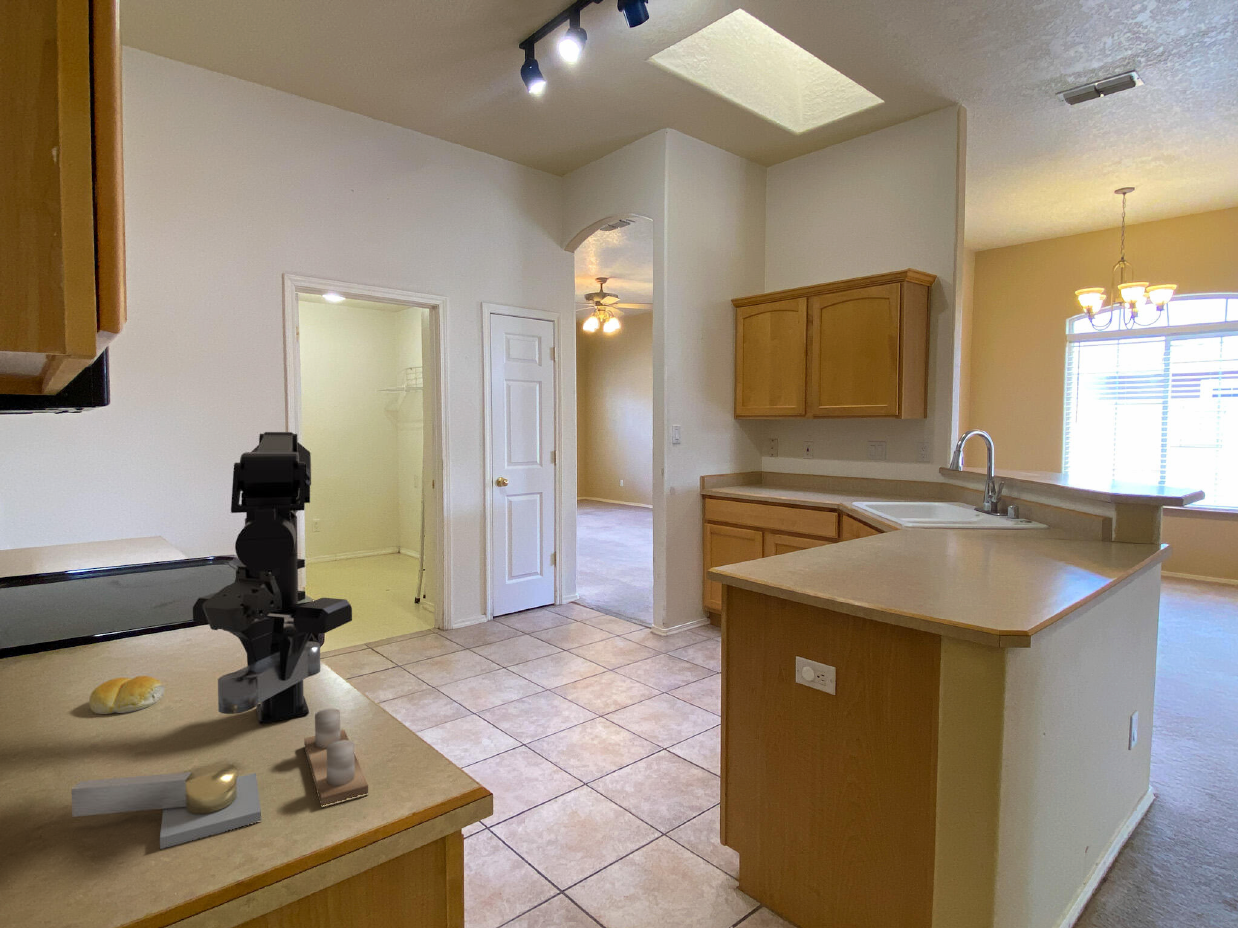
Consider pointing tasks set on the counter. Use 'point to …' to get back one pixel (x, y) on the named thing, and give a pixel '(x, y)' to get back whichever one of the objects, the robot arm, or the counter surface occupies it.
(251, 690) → the grey knobbed rod
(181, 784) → the lever switch
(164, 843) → the plate
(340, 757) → the peg rack
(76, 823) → the counter surface
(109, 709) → the bread roll
